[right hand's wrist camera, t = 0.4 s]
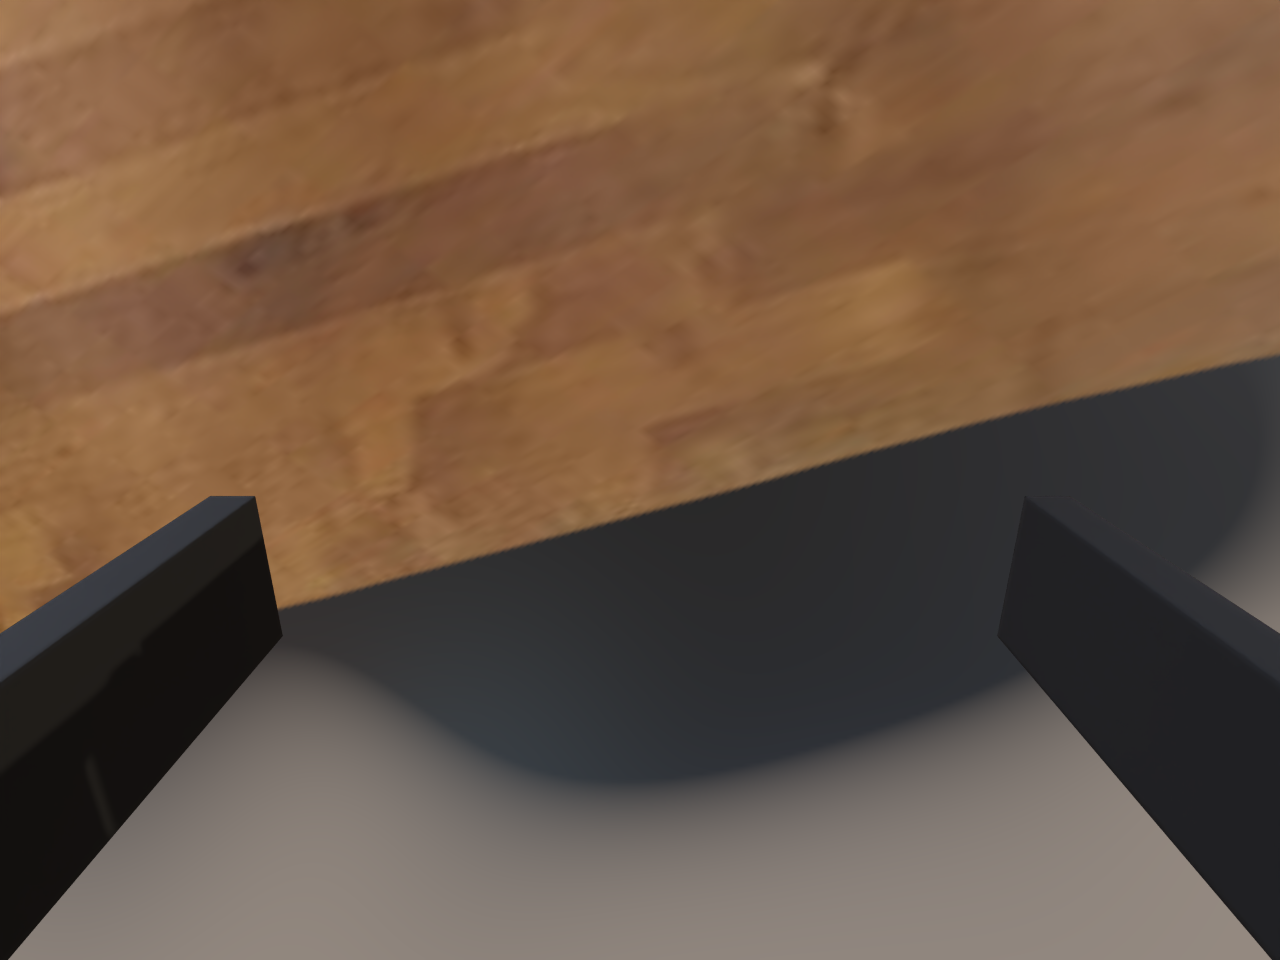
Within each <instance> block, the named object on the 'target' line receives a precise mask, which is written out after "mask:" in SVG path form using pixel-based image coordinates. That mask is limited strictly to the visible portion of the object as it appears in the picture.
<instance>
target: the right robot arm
mask: <svg viewBox="0 0 1280 960" xmlns="http://www.w3.org/2000/svg"><path fill="white" fill-rule="evenodd" d="M282 636H283V635H282V630H281V625H280V620H279V615H278V610H277V605H276V600H275V595H274V590H273V585H272V580H271V574H270V569H269V564H268V559H267V554H266V549H265V544H264V539H263V534H262V529H261V524H260V519H259V514H258V509H257V503H256V498H255V496H210V497H208V498H207V499H205V500H204V501H202V502H201V503H199V504H198V505H196V506H194V507H193V508H191V509H190V510H188V511H187V512H185V513H184V514H182V515H181V516H179V517H178V518H176V519H175V520H173V521H172V522H170V523H168V524H167V525H165V526H164V527H162V528H161V529H159V530H158V531H156V532H155V533H153V534H152V535H150V536H149V537H147V538H146V539H144V540H143V541H141V542H139V543H138V544H136V545H135V546H133V547H132V548H130V549H129V550H127V551H126V552H124V553H123V554H121V555H120V556H118V557H117V558H115V559H113V560H112V561H110V562H109V563H107V564H106V565H104V566H103V567H101V568H100V569H98V570H97V571H95V572H94V573H92V574H91V575H89V576H88V577H86V578H84V579H83V580H81V581H80V582H78V583H77V584H75V585H74V586H72V587H71V588H69V589H68V590H66V591H65V592H63V593H62V594H60V595H58V596H57V597H55V598H54V599H52V600H51V601H49V602H48V603H46V604H45V605H43V606H42V607H40V608H39V609H37V610H36V611H34V612H33V613H31V614H29V615H28V616H26V617H25V618H23V619H22V620H20V621H19V622H17V623H16V624H14V625H13V626H11V627H10V628H8V629H7V630H5V631H3V632H2V633H0V960H8V959H9V958H10V957H11V956H12V954H13V953H14V952H15V951H16V950H17V948H18V947H19V946H20V945H21V944H22V943H23V941H24V940H25V939H26V938H27V937H28V936H29V934H30V933H31V932H32V931H33V930H34V928H35V927H36V926H37V925H38V924H39V923H40V921H41V920H42V919H43V918H44V917H45V915H46V914H47V913H48V912H49V911H50V910H51V908H52V907H53V906H54V905H55V904H56V903H57V901H58V900H59V899H60V898H61V897H62V895H63V894H64V893H65V892H66V891H67V889H68V888H69V887H70V886H71V885H72V884H73V882H74V881H75V880H76V879H77V878H78V877H79V875H80V874H81V873H82V872H83V871H84V870H85V868H86V867H87V866H88V865H89V864H90V862H91V861H92V860H93V859H94V858H95V857H96V855H97V854H98V853H99V852H100V851H101V849H102V848H103V847H104V846H105V845H106V844H107V842H108V841H109V840H110V839H111V838H112V837H113V835H114V834H115V833H116V832H117V831H118V829H119V828H120V827H121V826H122V825H123V824H124V822H125V821H126V820H127V819H128V818H129V816H130V815H131V814H132V813H133V812H134V811H135V809H136V808H137V807H138V806H139V805H140V803H141V802H142V801H143V800H144V799H145V798H146V796H147V795H148V794H149V793H150V792H151V791H152V789H153V788H154V787H155V786H156V785H157V783H158V782H159V781H160V780H161V779H162V777H163V776H164V775H165V774H166V773H167V772H168V771H169V769H170V768H171V767H172V766H173V765H174V763H175V762H176V761H177V760H178V759H179V758H180V756H181V755H182V754H183V753H184V752H185V750H186V749H187V748H188V747H189V746H190V745H191V743H192V742H193V741H194V740H195V739H196V738H197V736H198V735H199V734H200V733H201V732H202V730H203V729H204V728H205V727H206V726H207V725H208V723H209V722H210V721H211V720H212V719H213V717H214V716H215V715H216V714H217V713H218V712H219V710H220V709H221V708H222V707H223V706H224V705H225V703H226V702H227V701H228V700H229V699H230V697H231V696H232V695H233V694H234V693H235V691H236V690H237V689H238V688H239V687H240V686H241V684H242V683H243V682H244V681H245V680H246V679H247V677H248V676H249V675H250V674H251V673H252V671H253V670H254V669H255V668H256V667H257V666H258V664H259V663H260V662H261V661H262V660H263V659H264V657H265V656H266V655H267V654H268V653H269V651H270V650H271V649H272V648H273V647H274V646H275V644H276V643H277V642H278V641H279V640H280V639H281V637H282ZM998 637H999V639H1000V640H1001V641H1002V642H1003V643H1004V644H1005V646H1006V647H1007V648H1008V649H1009V650H1010V651H1011V653H1012V654H1013V655H1014V656H1015V657H1016V659H1017V660H1018V661H1019V662H1020V663H1021V664H1022V666H1023V667H1024V668H1025V669H1026V670H1027V672H1028V673H1029V674H1030V675H1031V676H1032V677H1033V678H1034V680H1035V681H1036V682H1037V683H1038V684H1039V686H1040V687H1041V688H1042V689H1043V690H1044V692H1045V693H1046V694H1047V695H1048V696H1049V697H1050V699H1051V700H1052V701H1053V702H1054V703H1055V704H1056V706H1057V707H1058V708H1059V709H1060V710H1061V712H1062V713H1063V714H1064V715H1065V716H1066V717H1067V719H1068V720H1069V721H1070V722H1071V723H1072V725H1073V726H1074V727H1075V728H1076V729H1077V730H1078V732H1079V733H1080V734H1081V735H1082V736H1083V738H1084V739H1085V740H1086V741H1087V742H1088V743H1089V745H1090V746H1091V747H1092V748H1093V749H1094V750H1095V752H1096V753H1097V754H1098V755H1099V756H1100V758H1101V759H1102V760H1103V761H1104V762H1105V763H1106V765H1107V766H1108V767H1109V768H1110V769H1111V770H1112V772H1113V773H1114V774H1115V775H1116V776H1117V778H1118V779H1119V780H1120V781H1121V782H1122V783H1123V785H1124V786H1125V787H1126V788H1127V789H1128V791H1129V792H1130V793H1131V794H1132V795H1133V796H1134V798H1135V799H1136V800H1137V801H1138V802H1139V803H1140V805H1141V806H1142V807H1143V808H1144V809H1145V811H1146V812H1147V813H1148V814H1149V815H1150V816H1151V818H1152V819H1153V820H1154V821H1155V822H1156V824H1157V825H1158V826H1159V827H1160V828H1161V829H1162V831H1163V832H1164V833H1165V834H1166V835H1167V837H1168V838H1169V839H1170V840H1171V841H1172V842H1173V844H1174V845H1175V846H1176V847H1177V848H1178V849H1179V851H1180V852H1181V853H1182V854H1183V855H1184V857H1185V858H1186V859H1187V860H1188V861H1189V862H1190V864H1191V865H1192V866H1193V867H1194V868H1195V870H1196V871H1197V872H1198V873H1199V874H1200V875H1201V877H1202V878H1203V879H1204V880H1205V881H1206V882H1207V884H1208V885H1209V886H1210V887H1211V888H1212V890H1213V891H1214V892H1215V893H1216V894H1217V895H1218V897H1219V898H1220V899H1221V900H1222V901H1223V903H1224V904H1225V905H1226V906H1227V907H1228V908H1229V910H1230V911H1231V912H1232V913H1233V914H1234V915H1235V917H1236V918H1237V919H1238V920H1239V921H1240V923H1241V924H1242V925H1243V926H1244V927H1245V928H1246V930H1247V931H1248V932H1249V933H1250V934H1251V935H1252V937H1253V938H1254V939H1255V940H1256V941H1257V943H1258V944H1259V945H1260V946H1261V947H1262V948H1263V950H1264V951H1265V952H1266V953H1267V954H1268V956H1269V957H1270V958H1271V959H1272V960H1280V633H1278V632H1276V631H1275V630H1273V629H1272V628H1270V627H1269V626H1267V625H1266V624H1264V623H1263V622H1261V621H1260V620H1258V619H1257V618H1255V617H1254V616H1252V615H1250V614H1249V613H1247V612H1246V611H1244V610H1243V609H1241V608H1240V607H1238V606H1237V605H1235V604H1234V603H1232V602H1231V601H1229V600H1228V599H1226V598H1225V597H1223V596H1222V595H1220V594H1218V593H1217V592H1215V591H1214V590H1212V589H1211V588H1209V587H1208V586H1206V585H1205V584H1203V583H1202V582H1200V581H1199V580H1197V579H1196V578H1194V577H1192V576H1191V575H1189V574H1188V573H1186V572H1185V571H1183V570H1182V569H1180V568H1179V567H1177V566H1176V565H1174V564H1173V563H1171V562H1169V561H1168V560H1167V559H1165V558H1163V557H1162V556H1160V555H1159V554H1157V553H1156V552H1154V551H1153V550H1151V549H1150V548H1148V547H1147V546H1145V545H1144V544H1142V543H1140V542H1139V541H1137V540H1136V539H1134V538H1133V537H1131V536H1130V535H1128V534H1127V533H1125V532H1124V531H1122V530H1121V529H1119V528H1118V527H1116V526H1115V525H1113V524H1111V523H1110V522H1108V521H1107V520H1105V519H1104V518H1102V517H1101V516H1099V515H1098V514H1096V513H1095V512H1093V511H1092V510H1090V509H1089V508H1087V507H1085V506H1084V505H1082V504H1081V503H1079V502H1078V501H1076V500H1075V499H1073V498H1072V497H1070V496H1025V498H1024V503H1023V509H1022V514H1021V519H1020V524H1019V529H1018V534H1017V539H1016V544H1015V549H1014V554H1013V559H1012V564H1011V569H1010V574H1009V580H1008V585H1007V590H1006V595H1005V600H1004V605H1003V610H1002V615H1001V620H1000V625H999V630H998Z"/></svg>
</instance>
